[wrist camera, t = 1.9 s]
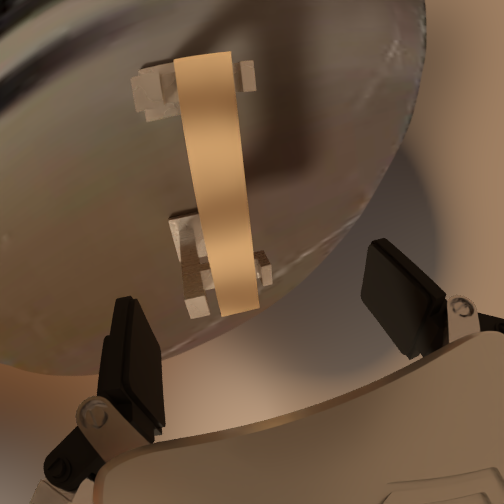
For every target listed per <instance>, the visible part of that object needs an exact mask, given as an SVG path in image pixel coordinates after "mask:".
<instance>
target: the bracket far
mask: <svg viewBox="0 0 504 504" xmlns="http://www.w3.org/2000/svg"><path fill="white" fill-rule="evenodd" d="M169 225H170V228H171V232H172V236H173V240H174V243H175V247H176V251H177V254H178V258H179V261H180V262H181V267H182V279H183V290H184V300H185V303H186V306H187V309H188V312H189V315H190V318H191V319H193V318H198V317H202V316H207V315H210V312H209V307H208V302H207V297H206V292H205V290H208V289H213V288H215V286H214V282H213V277H212V273H211V268H210V264H209V262H208V263H203V264H200V260H199V257H203V256H208V255H207V250H206V245H205V241H204V236H203V231H202V226H201V221H200V216H199V212H194V213H190V214H185V215H181V216H176V217H172V218H169ZM253 255H254V264H255V273H256V278H260V281H261V283H262V285H263V286H267V285H271V284H272V271H271V264H270V262H269V260H268V258H267V256H266V254H265V252H264V251H263V250H262V251H257V252H253Z"/></svg>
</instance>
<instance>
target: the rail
mask: <svg viewBox="0 0 504 504" xmlns="http://www.w3.org/2000/svg"><path fill="white" fill-rule="evenodd" d="M174 68H175V76H176V83H177V90H178V97H179V103H180V110H181V116H182V123H183V129H184V135H185V141H186V147H187V153H188V158H189V164H190V169H191V175H192V180H193V186H194V191H195V196H196V201H197V206H198V211H199V216H200V221H201V226H202V231H203V236H204V241H205V245H206V250H207V255H208V259H209V264H210V268H211V273H212V277H213V282H214V286H215V290H216V294H217V299H218V303H219V307H220V311H221V315H222V317H223V316H228V315H232V314H236V313H240V312H244V311H248V310H253V309H257V308H259V300H258V291H257V282H256V273H255V264H254V255H253V246H252V237H251V228H250V219H249V210H248V201H247V192H246V183H245V174H244V166H243V157H242V148H241V139H240V130H239V121H238V112H237V104H236V95H235V86H234V77H233V68H232V60H231V51H230V52H220V53H211V54H204V55H197V56H190V57H184V58H178V59H174Z"/></svg>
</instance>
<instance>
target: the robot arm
mask: <svg viewBox="0 0 504 504" xmlns="http://www.w3.org/2000/svg"><path fill="white" fill-rule="evenodd" d="M445 296H446V293H445V292H444V291H443V290H441V288H440V287H439V286H438V285H437V284H436V283H434V281H432V280H431V279H430V278H429V277H428V276H427V275H426V274H425V273H424V272H423V271H422V270H421V269H419V267H417V266H416V265H415V264H414V263H413V262H412V261H411V260H410V259H409V258H408V257H406V256H405V255H404V254H403V253H402V252H401V251H400V250H398V249H397V248H396V247H395V246H394V245H393V244H392V243H390V242H389V241H388V240H387V239H385V238H382V239H378V240H374V241H372V242H371V245H369V247H368V252H367V259H366V265H365V272H364V278H363V285H362V290H361V299H362V301H363V303H364V304H365V305H366V306H367V307H368V309H369V310H370V311H371V313H372V314H373V315H374V317H375V318H376V319H377V320H378V322H379V323H380V325H381V326H382V327H383V329H384V330H385V331H386V333H387V334H388V335H389V337H390V338H391V339H392V341H393V342H394V343H395V345H396V346H397V347H398V349H399V350H400V351H401V353H402V354H404V355H406V356H407V357H408V358H409V360H411V359H413V358H414V357H417V356H418V355H419V354H420V353H421V355H422V356H423V358H421V359H420V360H418V361H416V362H414V363H412V364H410V365H408V366H406V367H404V368H402V369H400V370H398V371H396V372H394V373H392V374H390V375H388V376H385V377H383V378H381V379H379V380H377V381H374V382H372V383H370V384H368V385H366V386H363V387H361V388H358V389H356V390H353V391H351V392H349V393H346V394H343V395H341V396H338V397H336V398H333V399H330V400H327V401H325V402H322V403H319V404H316V405H313V406H310V407H308V408H305V409H301V410H298V411H295V412H292V413H289V414H285V415H282V416H278V417H275V418H272V419H268V420H264V421H260V422H257V423H253V424H249V425H244V426H241V427H236V428H231V429H226V430H222V431H217V432H212V433H207V434H202V435H196V436H191V437H185V438H179V439H174V440H169V441H162V442H157V443H153V442H154V441H155V440H154V436H155V435H162V427H165V424H166V423H165V412H164V399H163V384H162V365H161V350H160V346H159V344H158V342H157V340H156V338H155V336H154V334H153V332H152V330H151V328H150V325H149V323H148V321H147V319H146V317H145V315H144V313H143V310H142V308H141V306H140V304H139V302H138V300H137V299H133V298H132V297H131V296H127V297H122V298H117V299H116V302H115V307H114V313H113V319H112V324H111V331H110V335H108V336H106V337H105V338H104V342H103V349H102V356H101V363H100V371H99V380H98V389H97V396H92V397H89V398H87V399H86V400H84V401H83V402H82V403H81V404H80V405H79V407H78V409H77V411H76V423H77V425H78V426H77V427H76V428H75V429H74V430H73V431H72V432H71V433H70V434H69V435H68V436H67V437H66V438H65V439H64V440H63V441H62V442H61V443H60V444H59V445H58V446H57V447H56V448H55V449H54V450H53V451H52V452H51V453H50V454H49V455H48V456H47V457H46V459H45V462H44V474H45V476H46V477H45V479H44V480H40V482H39V484H38V486H37V488H36V490H35V492H34V495H33V497H32V499H31V501H30V503H29V504H504V319H502V318H498V317H494V316H489V315H485V314H481V313H477V308H476V306H475V304H474V303H473V302H472V301H471V300H470V299H468V298H467V297H465V296H461V295H455V296H451V297H450V298H449V299H448V301H447V300H446V299H445Z"/></svg>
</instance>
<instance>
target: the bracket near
mask: <svg viewBox="0 0 504 504" xmlns="http://www.w3.org/2000/svg"><path fill="white" fill-rule="evenodd" d="M232 68H233V77H234V86H235V92H247V91H256V82H255V72H254V63H253V60H252V61H240V62H238V63H233V64H232ZM138 72H139V76H136V77H133V78H131V84H132V90H133V96H134V102H135V108H136V112H140V111H144V110H145V115H146V121H147V122H149V121H154V120H158V119H162V118H167V117H171V116H176V115H181V110H180V103H179V97H178V90H177V83H176V76H175V68H174V62H172V63H167V64H162V65H157V66H153V67H149V68H144V69H140V70H138Z"/></svg>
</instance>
